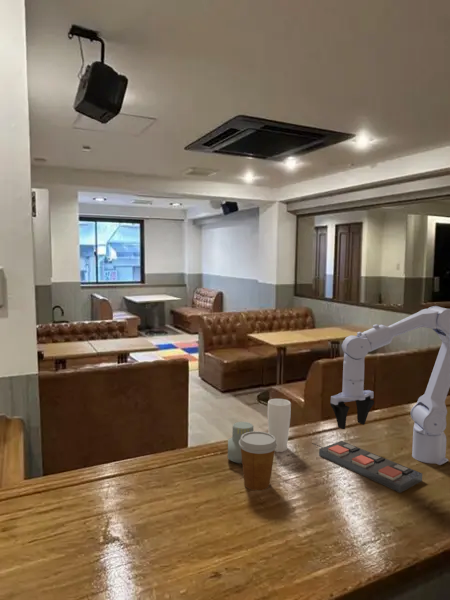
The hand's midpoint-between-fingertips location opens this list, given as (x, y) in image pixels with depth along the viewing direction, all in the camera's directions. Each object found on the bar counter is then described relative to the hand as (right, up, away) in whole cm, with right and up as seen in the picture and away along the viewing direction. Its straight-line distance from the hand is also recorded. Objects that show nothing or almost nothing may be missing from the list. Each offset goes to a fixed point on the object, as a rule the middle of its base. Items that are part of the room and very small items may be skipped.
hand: (351, 425), depth 124 cm
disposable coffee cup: (-28, -11, -14) cm, 33 cm away
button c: (+6, -10, -14) cm, 18 cm away
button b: (+1, -9, -8) cm, 12 cm away
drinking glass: (-20, -9, +5) cm, 23 cm away
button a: (-4, -9, -2) cm, 10 cm away
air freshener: (-31, -10, -1) cm, 32 cm away
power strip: (0, -10, -4) cm, 11 cm away
